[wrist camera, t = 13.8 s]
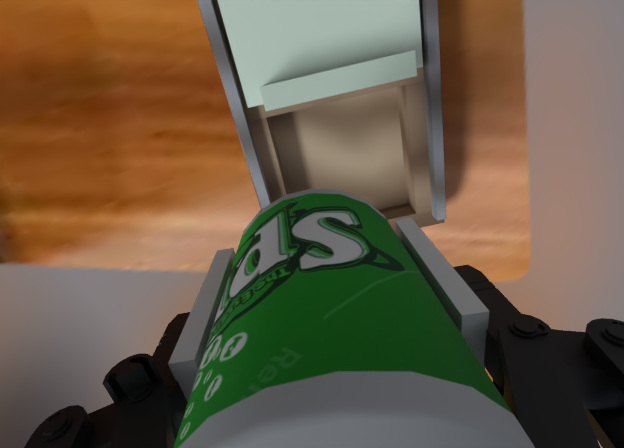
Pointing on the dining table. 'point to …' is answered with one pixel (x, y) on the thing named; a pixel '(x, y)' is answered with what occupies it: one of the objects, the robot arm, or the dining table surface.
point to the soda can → (337, 343)
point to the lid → (320, 46)
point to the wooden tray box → (348, 134)
